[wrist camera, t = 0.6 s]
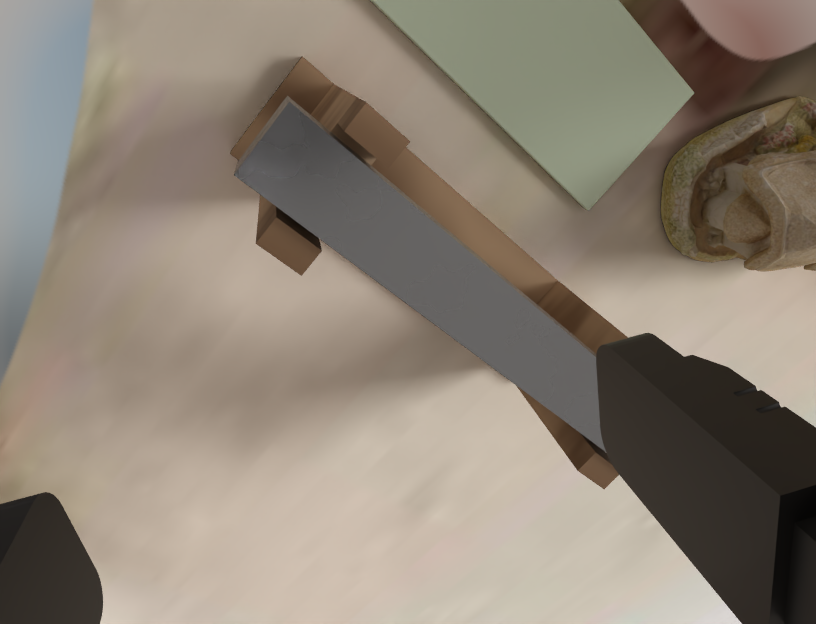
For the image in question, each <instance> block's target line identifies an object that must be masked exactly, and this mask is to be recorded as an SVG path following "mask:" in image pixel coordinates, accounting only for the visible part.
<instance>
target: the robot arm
mask: <svg viewBox="0 0 816 624" xmlns="http://www.w3.org/2000/svg"><path fill="white" fill-rule="evenodd" d="M596 369H597V385H598V400H599V416H600V430H601V437H602V441H603V444H604V448H605V450H606V453H607V455H608V457H609V460H610V461H611V463H612V465H613V467H614V468H615V470H616V471H617V472H618V473H619V475H620V476H621V477H622V478H623V480H624V481H625V482H626V483H627V484H628V486H629V487H630V488H631V489H632V490H633V492H634V493H635V494H636V495H637V497H638V498H639V499H640V500H641V501H642V503H643V504H644V505H645V506H646V508H647V509H648V510H649V511H650V512H651V514H652V515H653V516H654V517H655V518H656V520H657V521H658V522H659V523H660V525H661V526H662V527H663V528H664V529H665V531H666V532H667V533H668V534H669V535H670V537H671V538H672V539H673V540H674V542H675V543H676V544H677V545H678V546H679V548H680V549H681V550H682V551H683V552H684V554H685V555H686V556H687V557H688V559H689V560H690V561H691V562H692V563H693V565H694V566H695V567H696V568H697V569H698V571H699V572H700V573H701V574H702V576H703V577H704V578H705V579H706V580H707V582H708V583H709V584H710V585H711V586H712V588H713V589H714V590H715V591H716V593H717V594H718V595H719V596H720V597H721V599H722V600H723V601H724V602H725V603H726V605H727V606H728V607H729V608H730V610H731V611H732V612H733V613H734V614H735V616H736V617H737V618H738V619H739V621H740V622H741V623H742V624H816V428H815V427H814V426H813V425H811V424H810V423H808V422H807V421H805V420H804V419H802V418H801V417H800V416H798V415H797V414H795V413H794V412H792V411H791V410H789V409H788V408H786V407H782V408H781V407H780V405H779V402H778V401H776V400H775V399H773V398H772V397H770V396H769V395H768V394H766V393H765V392H763V391H762V390H760V391H757V389H756V386H755V385H753V384H752V383H750V382H749V381H747V380H746V379H744V378H743V377H741V376H740V375H739V374H737V373H736V372H734V371H733V370H731V369H730V368H728V367H726V366H723V365H720V364H717V363H714V362H711V361H709V360H706V359H703V358H700V357H697V356H694V355H690V356H686V357H683V356H682V355H681V354H679V353H678V352H677V351H675V350H674V349H673V348H671V347H670V346H669V345H667V344H666V343H665V342H663V341H662V340H660V339H659V338H658V337H656V336H655V335H653V334H651V333H645V334H641V335H637V336H633V337H630V338H626V339H622V340H618V341H615V342H611V343H607V344H603V345H601V346H600V347H599V348H598V350H597V354H596ZM102 610H103V594H102V586H101V582H100V578H99V575H98V573H97V570H96V568H95V567H94V565H93V563H92V561H91V559H90V557H89V555H88V553H87V551H86V550H85V548H84V546H83V544H82V542H81V540H80V538H79V536H78V535H77V533H76V531H75V529H74V527H73V525H72V523H71V521H70V520H69V518H68V516H67V514H66V512H65V510H64V508H63V506H62V505H61V503H60V501H59V500H58V499H57V498H56V497H55V496H54V495H53V494H51V493H47V492H45V493H40V494H37V495H33V496H29V497H25V498H22V499H18V500H14V501H10V502H7V503H3V504H0V624H100V621H101V616H102Z"/></svg>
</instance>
